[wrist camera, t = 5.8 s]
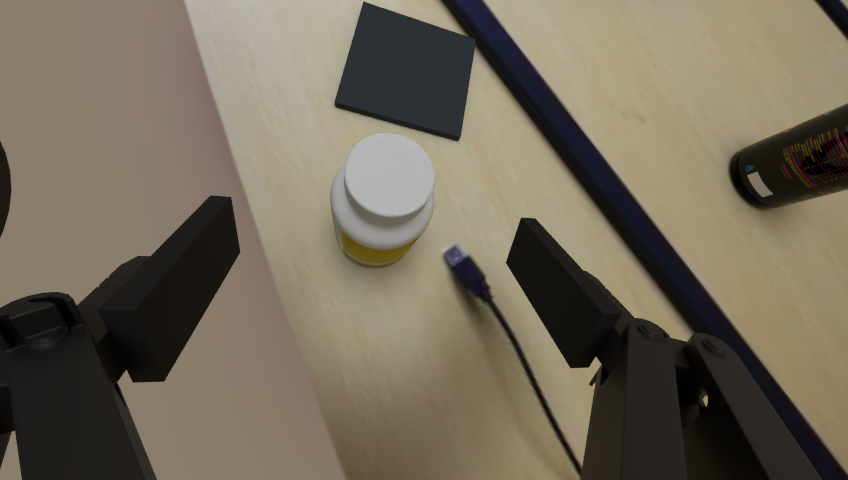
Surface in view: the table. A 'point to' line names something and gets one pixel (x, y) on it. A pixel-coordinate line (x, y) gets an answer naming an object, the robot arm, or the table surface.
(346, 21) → the table surface
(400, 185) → the supplement bottle
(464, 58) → the mat
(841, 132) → the supplement container
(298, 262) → the table surface
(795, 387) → the table surface
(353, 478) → the table surface
